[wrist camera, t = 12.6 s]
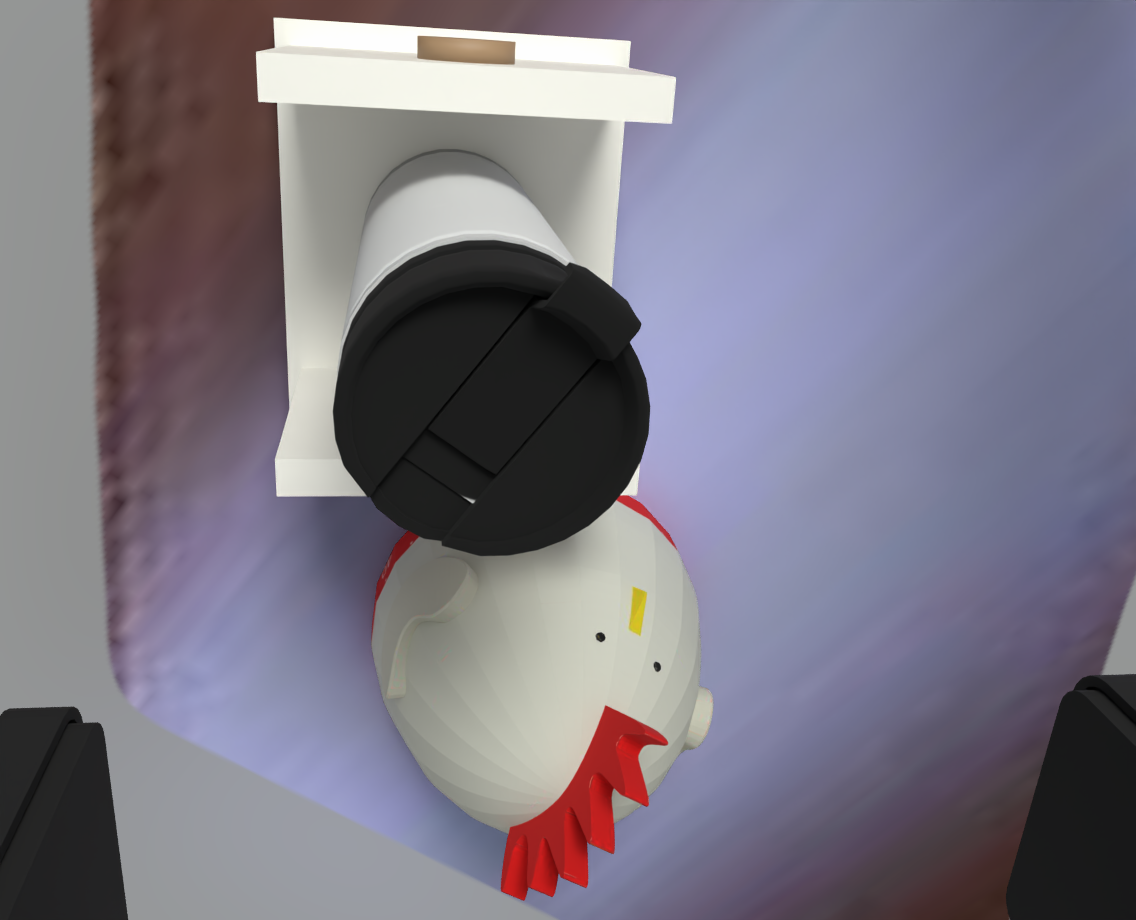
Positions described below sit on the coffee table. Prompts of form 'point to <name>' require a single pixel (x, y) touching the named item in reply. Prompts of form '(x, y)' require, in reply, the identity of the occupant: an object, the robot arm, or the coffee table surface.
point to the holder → (413, 126)
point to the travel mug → (483, 365)
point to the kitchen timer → (545, 682)
